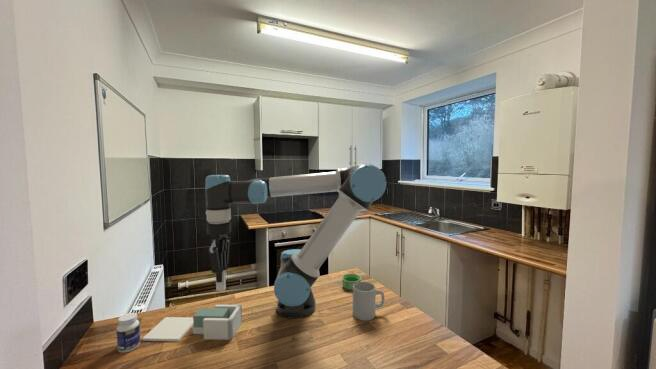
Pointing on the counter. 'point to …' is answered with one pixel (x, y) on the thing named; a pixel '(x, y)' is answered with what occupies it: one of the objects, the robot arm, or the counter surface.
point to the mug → (365, 300)
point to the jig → (221, 324)
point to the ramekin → (350, 280)
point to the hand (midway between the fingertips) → (221, 289)
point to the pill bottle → (128, 333)
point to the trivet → (170, 329)
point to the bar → (209, 315)
